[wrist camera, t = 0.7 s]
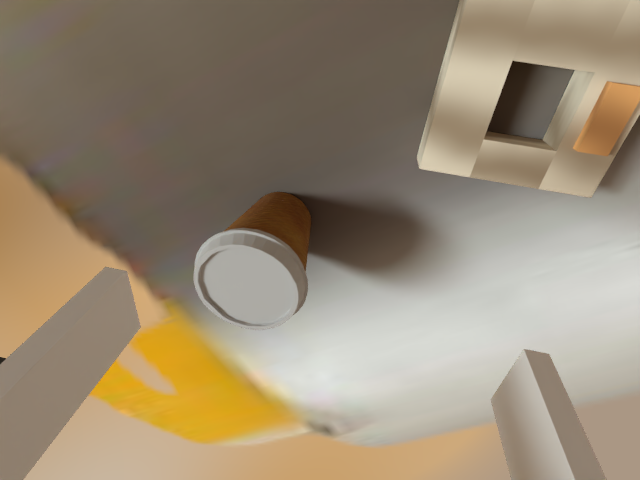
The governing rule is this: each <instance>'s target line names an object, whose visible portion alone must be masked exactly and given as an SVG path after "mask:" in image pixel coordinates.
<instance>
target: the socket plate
mask: <svg viewBox="0 0 640 480" xmlns="http://www.w3.org/2000/svg"><path fill="white" fill-rule="evenodd" d="M512 61H518V62H525V63H532V64H539V65H546V66H552V67H559V68H566V69H573V70H575V71H574V73H573V75H572V77H571V79H570V81H569V84H568V86H567V88H566V90H565V92H564V95H563V97H562V99H561V101H560V103H559V105H558V108H557V110H556V112H555V114H554V116H553V119H552V121H551V123H550V125H549V127H548V129H547V132H546V134H545V136H544V138H543V140H539V139H533V138H526V137H520V136H514V135H508V134H501V133H495V132H489V131H487V129H488V126H489V123H490V121H491V118H492V115H493V113H494V110H495V107H496V104H497V102H498V99H499V96H500V94H501V91H502V88H503V85H504V83H505V80H506V77H507V75H508V72H509V69H510V66H511V64H512ZM639 115H640V0H460V1H459V5H458V8H457V12H456V16H455V19H454V23H453V27H452V30H451V34H450V38H449V41H448V45H447V49H446V52H445V56H444V59H443V63H442V67H441V70H440V74H439V78H438V81H437V85H436V89H435V92H434V96H433V100H432V103H431V107H430V110H429V114H428V118H427V121H426V125H425V129H424V132H423V136H422V140H421V143H420V147H419V151H418V154H417V161H418V165H419V169H424V170H430V171H436V172H442V173H448V174H454V175H460V176H465V177H471V178H477V179H483V180H489V181H495V182H501V183H507V184H513V185H519V186H525V187H530V188H536V189H542V190H548V191H554V192H560V193H566V194H572V195H578V196H584V197H590V198H591V197H592V195H593V194H594V192H595V190H596V188H597V187H598V185H599V183H600V182H601V180H602V178H603V176H604V175H605V173H606V171H607V170H608V168H609V166H610V164H611V163H612V161H613V159H614V158H615V156H616V154H617V152H618V151H619V149H620V147H621V146H622V144H623V142H624V141H625V139H626V137H627V135H628V134H629V132H630V130H631V129H632V127H633V125H634V123H635V122H636V120H637V118H638V117H639Z"/></svg>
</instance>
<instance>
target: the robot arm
mask: <svg viewBox="0 0 640 480" xmlns="http://www.w3.org/2000/svg"><path fill="white" fill-rule="evenodd" d="M140 327H141V326H140V322H139V318H138V314H137V310H136V306H135V302H134V298H133V294H132V290H131V286H130V282H129V278H128V274H127V271H124V270H119V269H114V268H109V267H105V268H104V269H103V270H102V271H101V272H100V273H99V274H97V275H96V276H95V277H94V278H93V279H92V280H91V281H90V282H89V283H88V284H87V285H85V286H84V287H83V288H82V289H81V290H80V291H79V292H78V293H77V294H76V295H75V296H74V297H72V298H71V299H70V300H69V301H68V302H67V303H66V304H65V305H64V306H63V307H62V308H61V309H60V310H58V311H57V312H56V313H55V314H54V315H53V316H52V317H51V318H50V319H49V320H48V321H47V322H45V323H44V324H43V325H42V326H41V327H40V328H39V329H38V330H37V331H36V332H35V333H34V334H33V335H32V336H30V337H29V338H28V339H27V340H26V341H25V342H24V343H23V344H22V345H21V346H20V347H18V348H17V349H16V350H15V351H14V352H13V353H12V354H11V355H10V356H9V357H8V358H7V359H6V358H2V357H0V480H23V479H24V478H25V477H26V475H27V474H28V473H29V471H30V470H31V469H32V467H33V466H34V465H35V464H36V462H37V461H38V460H39V459H40V457H41V456H42V454H43V453H44V452H45V451H46V449H47V448H48V447H49V445H50V444H51V443H52V442H53V440H54V439H55V438H56V436H57V435H58V434H59V432H60V431H61V430H62V429H63V427H64V426H65V425H66V423H67V422H68V421H69V420H70V418H71V417H72V416H73V414H74V413H75V412H76V410H77V409H78V408H79V407H80V405H81V404H82V403H83V401H84V400H85V399H86V397H87V396H88V395H89V394H90V392H91V391H92V390H93V388H94V387H95V386H96V384H97V383H98V382H99V381H100V379H101V378H102V377H103V375H104V374H105V373H106V371H107V370H108V369H109V368H110V366H111V365H112V364H113V362H114V361H115V360H116V359H117V357H118V356H119V354H120V353H121V352H122V351H123V349H124V348H125V347H126V346H127V344H128V343H129V342H130V340H131V339H132V338H133V336H134V335H135V334H136V333H137V331H138V330H139V329H140ZM491 403H492V407H493V411H494V415H495V419H496V422H497V426H498V430H499V434H500V438H501V441H502V446H503V450H504V453H505V457H506V461H507V465H508V469H509V473H510V477H511V480H607V479H606V477H605V475H604V473H603V471H602V469H601V466H600V464H599V462H598V460H597V458H596V456H595V453H594V451H593V449H592V447H591V444H590V442H589V440H588V438H587V436H586V434H585V432H584V429H583V427H582V425H581V423H580V421H579V418H578V416H577V414H576V412H575V410H574V407H573V405H572V403H571V401H570V399H569V396H568V394H567V392H566V390H565V388H564V386H563V383H562V381H561V379H560V377H559V375H558V372H557V370H556V368H555V366H554V364H553V362H552V359H551V357H550V355H549V354H546V353H541V352H536V351H531V350H526V349H524V350H523V351H522V353H521V354H520V356H519V357H518V359H517V360H516V362H515V363H514V365H513V366H512V368H511V369H510V371H509V373H508V374H507V376H506V377H505V379H504V380H503V382H502V383H501V385H500V386H499V388H498V389H497V391H496V392H495V394H494V395H493V397H492V398H491Z"/></svg>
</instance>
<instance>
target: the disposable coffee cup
mask: <svg viewBox="0 0 640 480" xmlns="http://www.w3.org/2000/svg"><path fill="white" fill-rule="evenodd" d="M310 228H311V216H310V213H309V211H308V209H307V207H306V206H305V205H304V203H303V202H302V201H301V200H300V199H298V198H297V197H295V196H293V195H291V194H288V193H284V192H274V193H270V194H267V195H265V196H264V197H262V198H261V199H260V200H259V201H258V202H257V203H255V204H254V205H253V206H252V207H251V208H250V209H248V210H247V211H246V212H245V213H244V214H243V215H242V216H241V217H239V218H238V219H237V220H236V221H235V222H234V223H233V224H232V225H231V226H229V227H228V228H227V229H226V230H225V231H224V232H220V233H218V234H216V235H214V236H212V237H211V238H209V239H208V240H207V241H206V242H205V243H204V244H203V245H202V246H201V248H200V249H199V251H198V253H197V256H196V260H195V270H194V284H195V289H196V291H197V293H198V295H199V297H200V298H201V300H202V302H203V303H204V304H205V305H206V307H207V308H208V309H209V310H210V311H211V312H213V313H214V314H215V315H216V316H218V317H219V318H221V319H222V320H224V321H226V322H228V323H230V324H233V325H235V326H238V327H241V328H246V329H253V330H264V329H270V328H274V327H277V326H280V325H282V324H283V323H285V322H286V321H287V320H289V319H290V318H291V317H292V315H294V314H295V313H297V312H298V310H299V309H300V308H301V307H302V305H303V304H304V302H305V299H306V296H307V292H308V280H307V276H306V272H305V271H306V263H307V254H308V246H309V245H308V244H309V237H310Z"/></svg>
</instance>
